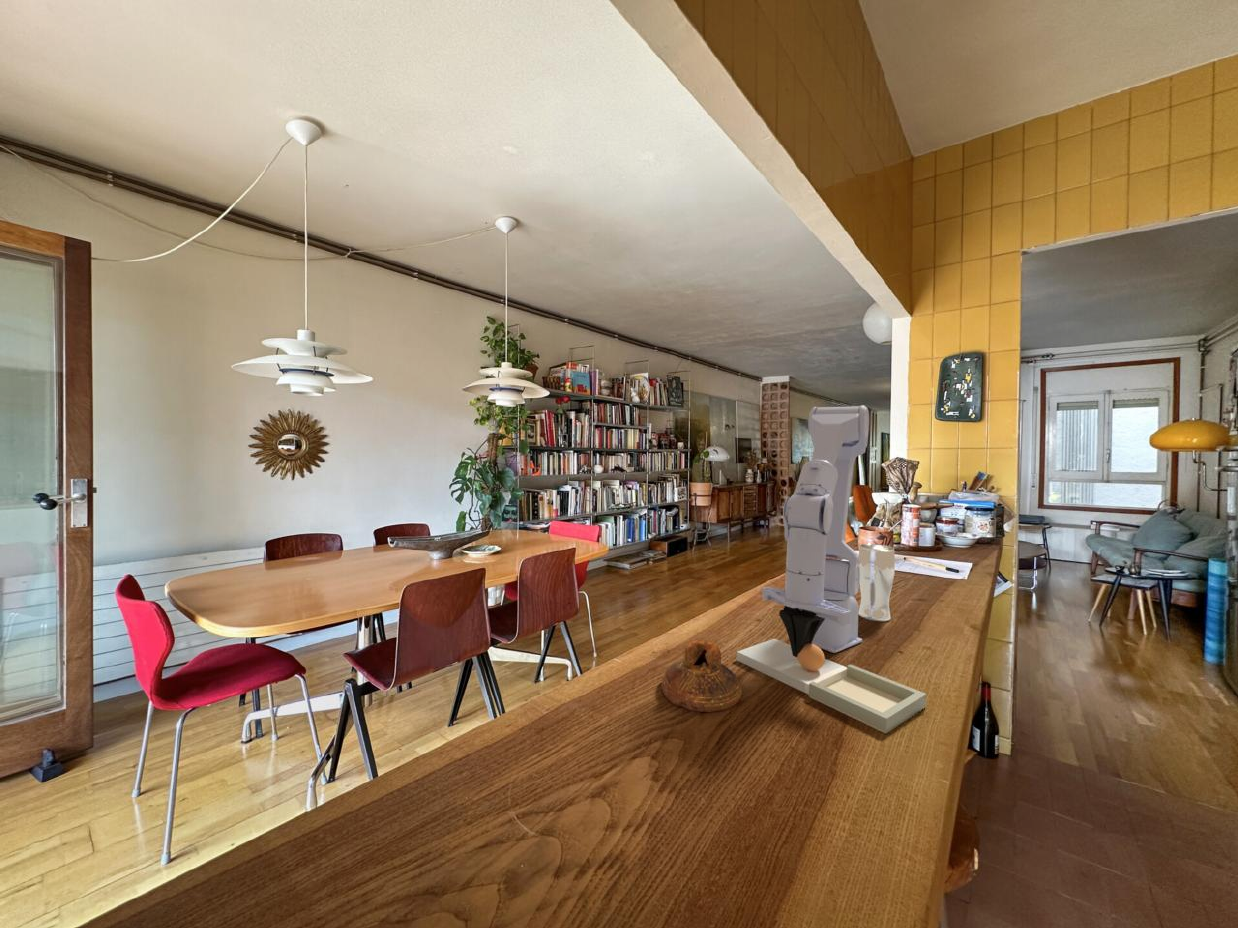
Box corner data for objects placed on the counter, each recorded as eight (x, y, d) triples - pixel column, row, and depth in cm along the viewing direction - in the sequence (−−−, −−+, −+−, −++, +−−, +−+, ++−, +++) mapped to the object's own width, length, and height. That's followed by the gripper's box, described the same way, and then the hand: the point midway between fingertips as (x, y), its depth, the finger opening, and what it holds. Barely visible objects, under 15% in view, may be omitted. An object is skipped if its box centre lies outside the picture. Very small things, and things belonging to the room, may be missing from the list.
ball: (823, 638, 78) (834, 665, 75) (806, 647, 80) (817, 673, 78) (804, 640, 76) (814, 667, 74) (788, 649, 79) (798, 675, 76)
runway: (774, 646, 89) (774, 638, 89) (848, 677, 78) (848, 668, 78) (736, 660, 83) (736, 651, 83) (810, 695, 72) (811, 685, 72)
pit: (850, 676, 78) (850, 664, 78) (925, 707, 69) (926, 693, 69) (808, 696, 72) (809, 683, 72) (885, 733, 63) (886, 718, 63)
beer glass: (899, 622, 102) (902, 550, 101) (865, 622, 102) (868, 550, 101) (882, 611, 109) (884, 543, 108) (850, 610, 109) (852, 543, 108)
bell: (756, 692, 73) (758, 644, 73) (710, 724, 65) (711, 670, 64) (692, 666, 81) (693, 623, 81) (643, 692, 73) (644, 643, 72)
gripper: (751, 563, 81) (748, 645, 82) (833, 585, 69) (828, 680, 70) (778, 559, 85) (775, 637, 86) (860, 579, 73) (855, 669, 74)
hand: (801, 656), depth 78 cm, fingers closed, pressing on ball
